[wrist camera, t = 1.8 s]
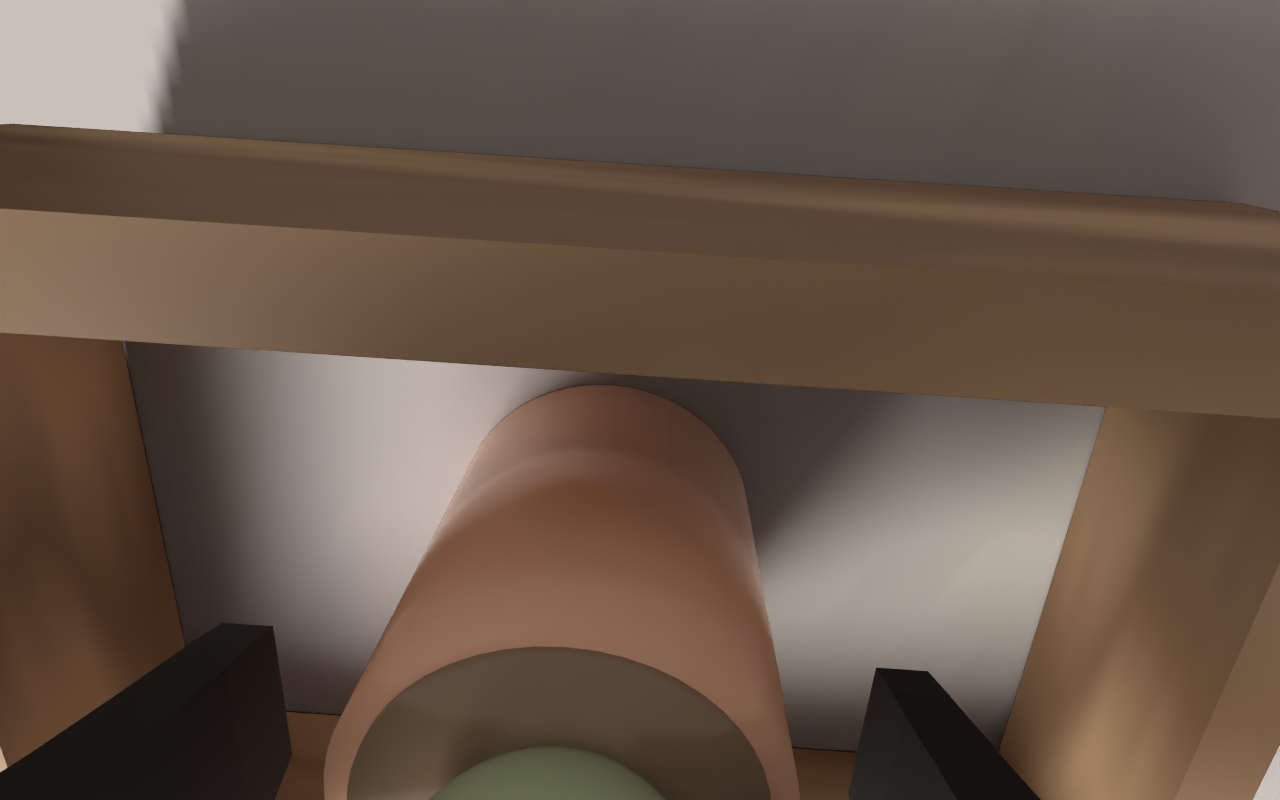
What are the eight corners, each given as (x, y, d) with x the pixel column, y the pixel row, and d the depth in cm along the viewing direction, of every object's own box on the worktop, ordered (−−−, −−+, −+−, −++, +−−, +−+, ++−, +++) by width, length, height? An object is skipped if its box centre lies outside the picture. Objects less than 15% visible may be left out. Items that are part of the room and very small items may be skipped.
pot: (731, 641, 15) (811, 1359, 6) (466, 622, 15) (211, 1311, 7) (763, 395, 13) (933, 972, 5) (458, 374, 13) (82, 908, 5)
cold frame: (1032, 802, 16) (1226, 1189, 10) (156, 739, 16) (-112, 1086, 11) (1240, 203, 11) (1789, 325, 6) (11, 123, 12) (-603, 169, 6)
